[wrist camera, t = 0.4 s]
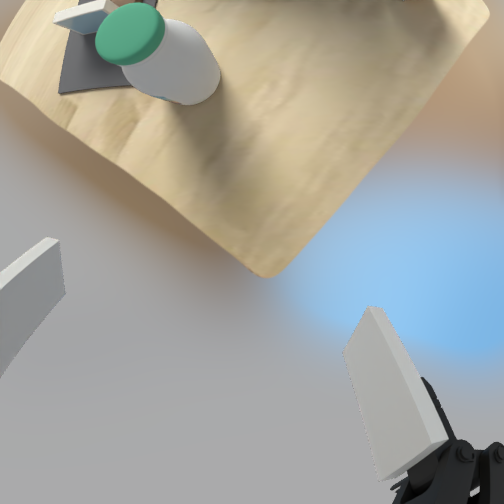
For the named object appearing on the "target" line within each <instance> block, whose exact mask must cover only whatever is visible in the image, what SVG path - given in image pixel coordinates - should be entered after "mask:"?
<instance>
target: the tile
mask: <svg viewBox="0 0 504 504" xmlns="http://www.w3.org/2000/svg"><path fill="white" fill-rule="evenodd" d="M117 8H119V7H118V6H117V5H116V4H114V3H113V2H111V1H110V0H96V1H92V2H89V3H85V4H81V5H78V6H75V7H72V8H69V9H65V10H63V11H60V12H57V13H55V16H54V20H53V24H56V25H59V26H62V27H64V28H67V29H69V30H72V31H75V32H77V33H80V34H82V35H85V34H90V33H94V32H97V31H98V29H99V27H100V25H101V23H102V22H103V21H104V19H105V18H106V17H107V16H108V15H109V14H110V13H112V12H113V11H114V10H116V9H117Z"/></svg>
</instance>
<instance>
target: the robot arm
mask: <svg viewBox="0 0 504 504" xmlns="http://www.w3.org/2000/svg"><path fill="white" fill-rule="evenodd" d="M65 294H66V293H65V286H64V279H63V272H62V263H61V254H60V241H59V240H57V239H53V238H49V237H46V238H45V239H43V240H42V241H41V242H39V243H38V244H36V245H35V246H34V247H32V248H31V249H30V250H28V251H27V252H26V253H24V254H23V255H22V256H20V257H19V258H18V259H17V260H15V261H14V262H13V263H12V264H10V265H9V266H8V267H7V268H5V270H3V271H2V272H1V273H0V377H1V376H2V375H3V373H4V371H5V370H6V369H7V367H8V366H9V364H10V363H11V361H12V360H13V359H14V357H15V356H16V355H17V353H18V352H19V351H20V349H21V348H22V347H23V345H24V344H25V342H26V341H27V340H28V339H29V337H30V336H31V335H32V334H33V332H34V331H35V330H36V329H37V327H38V326H39V325H40V324H41V322H42V321H43V320H44V319H45V317H46V316H47V315H48V314H49V313H50V311H51V310H52V309H53V308H54V307H55V306H56V304H57V303H58V302H59V301H60V300H61V299H62V298H63V296H64V295H65ZM342 353H343V357H344V360H345V363H346V366H347V369H348V373H349V376H350V379H351V382H352V386H353V389H354V392H355V395H356V399H357V402H358V406H359V409H360V412H361V416H362V420H363V423H364V427H365V430H366V434H367V438H368V441H369V445H370V449H371V453H372V457H373V461H374V465H375V469H376V473H377V477H378V481H379V482H380V481H384V480H388V479H393V478H396V477H398V476H400V475H401V474H403V473H404V472H405V471H407V473H408V477H406V478H404V479H403V480H401V481H400V482H398V483H396V484H395V485H393V486H392V487H391V489H390V490H394V489H396V488H397V487H399V486H400V489H398V490H397V491H396V493H397V495H396V497H395V499H394V501H393V503H392V504H504V446H503V444H501V443H499V442H494V443H493V444H491V445H490V446H489V447H488V448H486V449H485V450H474V448H473V447H472V445H471V444H470V443H468V442H467V441H465V440H462V439H461V440H457V439H456V437H455V435H454V433H453V430H452V428H451V426H450V424H449V422H448V419H447V417H446V415H445V413H444V411H443V409H442V408H441V404H440V402H439V400H438V399H437V396H436V394H435V392H434V390H433V388H432V386H431V385H430V384H429V383H428V382H427V381H426V380H425V379H424V378H423V377H420V376H419V374H418V372H417V370H416V368H415V366H414V364H413V362H412V360H411V358H410V356H409V354H408V353H407V351H406V349H405V347H404V345H403V343H402V342H401V340H400V338H399V336H398V334H397V333H396V331H395V329H394V327H393V326H392V324H391V322H390V320H389V319H388V317H387V316H386V314H385V312H384V311H383V309H382V308H378V307H372V306H367V308H366V310H365V312H364V314H363V316H362V318H361V320H360V322H359V323H358V325H357V327H356V329H355V331H354V333H353V335H352V336H351V338H350V340H349V342H348V343H347V345H346V347H345V349H344V350H343V352H342ZM478 486H480V492H479V493H477V494H476V495H474V496H472V497H471V496H470V491H472V490H474V489H475V488H477V487H478Z"/></svg>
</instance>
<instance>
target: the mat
mask: <svg viewBox="0 0 504 504" xmlns="http://www.w3.org/2000/svg"><path fill="white" fill-rule="evenodd" d="M92 1H96V0H79V3H78V5H81V4H85V3H88V2H92ZM156 2H157V0H143V2H142V3H145V4H148V5H151V6H152V7H154V8H155V5H156ZM96 34H97V32H94V33H90V34H85V35H82V34H80V33H77V32H75V31H72V30H70V33H69V37H68V41H67V46H66V50H65V55H64V60H63V65H62V71H61V77H60V83H59V91H58V93H65V92H71V91H78V90H85V89H93V88H103V87H114V86H128V85H131V84H130V83H129V81H128V80H127V79H126V77H125V75H124V73H123V71H122V67H121V66H118V65H116V64H113V63H110V62H108V61H106V60H104V59H103V58H102V57H101V56H100V55H99V53H98V52H97V49H96V46H95V39H96Z"/></svg>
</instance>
